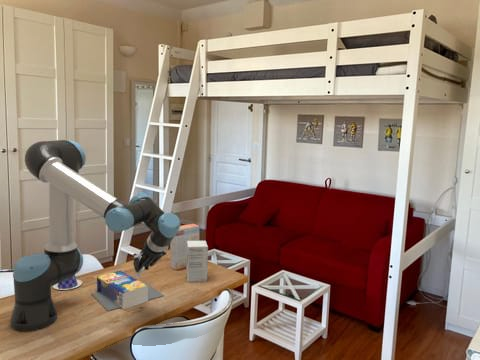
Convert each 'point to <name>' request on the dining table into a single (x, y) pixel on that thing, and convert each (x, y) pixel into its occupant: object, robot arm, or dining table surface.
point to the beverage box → (122, 289)
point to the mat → (112, 305)
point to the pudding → (68, 283)
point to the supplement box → (197, 261)
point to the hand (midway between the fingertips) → (137, 274)
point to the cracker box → (182, 245)
